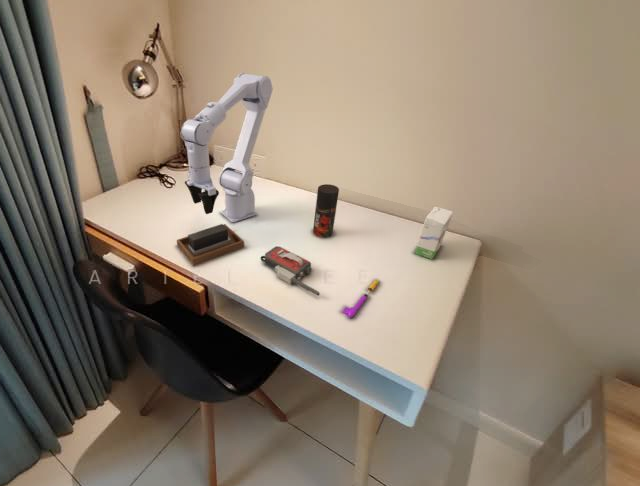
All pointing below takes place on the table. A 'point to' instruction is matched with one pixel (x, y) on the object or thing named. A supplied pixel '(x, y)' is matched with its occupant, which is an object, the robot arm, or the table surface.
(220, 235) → the dark grey eraser block
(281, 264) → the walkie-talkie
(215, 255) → the tray
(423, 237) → the ink box
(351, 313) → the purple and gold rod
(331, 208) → the deodorant
